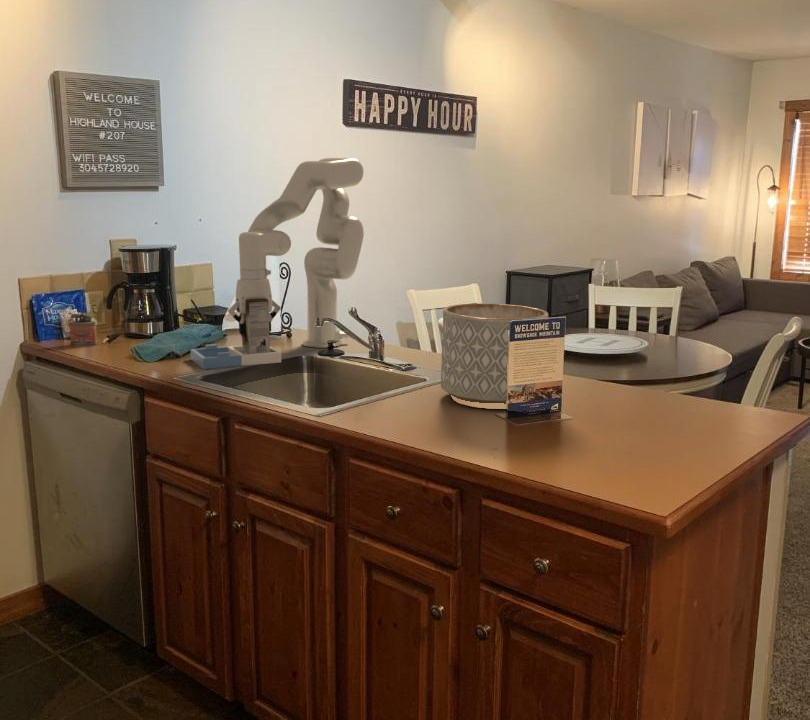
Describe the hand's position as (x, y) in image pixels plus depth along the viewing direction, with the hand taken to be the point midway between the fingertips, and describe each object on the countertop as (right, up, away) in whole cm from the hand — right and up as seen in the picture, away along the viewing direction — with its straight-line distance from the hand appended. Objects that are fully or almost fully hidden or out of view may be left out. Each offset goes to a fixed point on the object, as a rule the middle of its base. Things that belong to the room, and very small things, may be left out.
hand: (255, 334), depth 236 cm
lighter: (-57, -3, +16) cm, 59 cm away
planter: (+66, -18, -37) cm, 78 cm away
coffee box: (0, -5, +1) cm, 5 cm away
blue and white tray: (-5, -8, -2) cm, 10 cm away
